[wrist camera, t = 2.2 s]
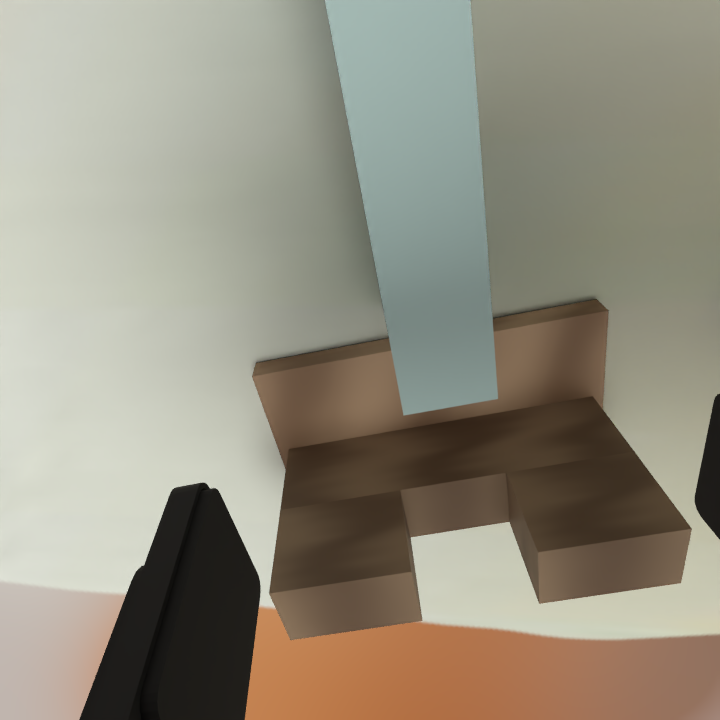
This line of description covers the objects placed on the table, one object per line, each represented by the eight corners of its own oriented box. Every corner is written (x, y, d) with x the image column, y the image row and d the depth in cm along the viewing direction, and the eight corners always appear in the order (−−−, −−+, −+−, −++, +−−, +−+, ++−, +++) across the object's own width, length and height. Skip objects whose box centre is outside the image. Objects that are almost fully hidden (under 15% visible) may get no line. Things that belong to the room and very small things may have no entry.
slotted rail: (596, 299, 23) (729, 424, 15) (587, 488, 29) (679, 648, 21) (255, 362, 24) (214, 510, 16) (315, 532, 30) (306, 699, 22)
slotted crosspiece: (404, -113, 16) (453, -246, 9) (450, 296, 23) (497, 398, 16) (309, -89, 16) (286, -201, 9) (384, 309, 23) (403, 415, 16)
